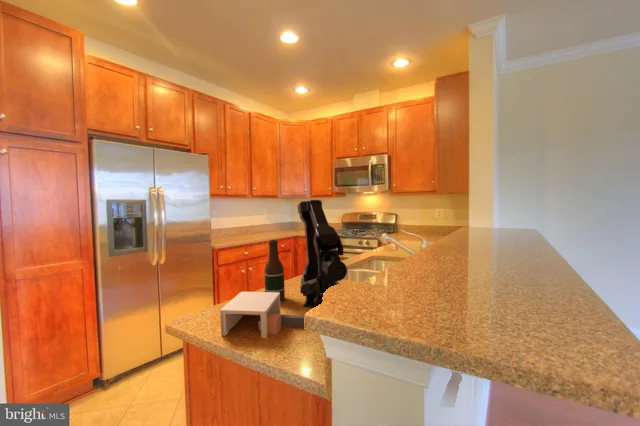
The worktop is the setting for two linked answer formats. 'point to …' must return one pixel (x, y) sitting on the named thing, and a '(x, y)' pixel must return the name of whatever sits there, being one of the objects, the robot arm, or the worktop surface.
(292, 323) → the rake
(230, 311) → the cubby
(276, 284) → the beer bottle
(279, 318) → the cube
